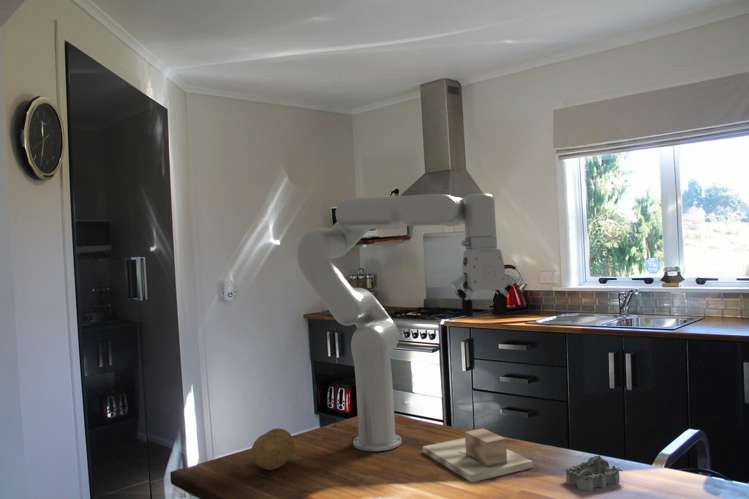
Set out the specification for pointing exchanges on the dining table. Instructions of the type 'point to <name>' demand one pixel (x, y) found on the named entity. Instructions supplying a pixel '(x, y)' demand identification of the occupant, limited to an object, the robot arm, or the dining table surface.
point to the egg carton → (592, 474)
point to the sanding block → (486, 447)
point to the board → (473, 461)
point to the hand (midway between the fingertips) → (485, 314)
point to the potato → (273, 449)
